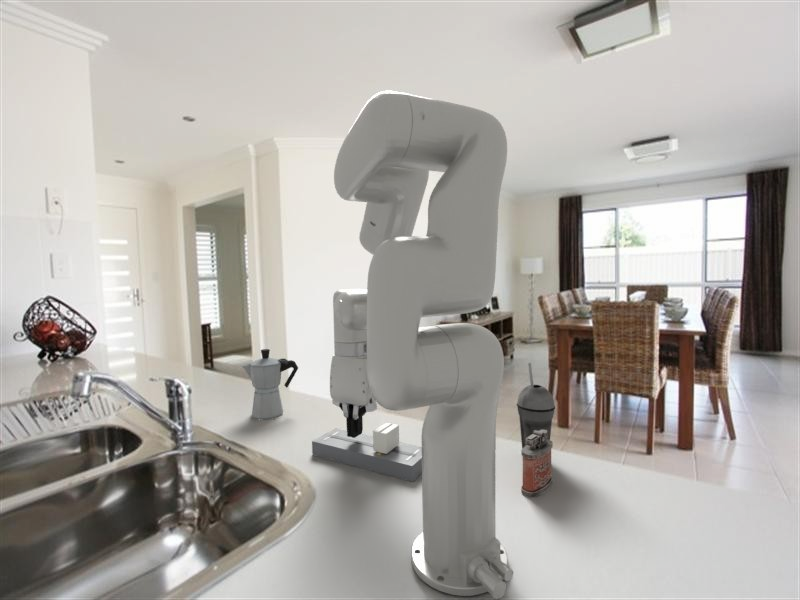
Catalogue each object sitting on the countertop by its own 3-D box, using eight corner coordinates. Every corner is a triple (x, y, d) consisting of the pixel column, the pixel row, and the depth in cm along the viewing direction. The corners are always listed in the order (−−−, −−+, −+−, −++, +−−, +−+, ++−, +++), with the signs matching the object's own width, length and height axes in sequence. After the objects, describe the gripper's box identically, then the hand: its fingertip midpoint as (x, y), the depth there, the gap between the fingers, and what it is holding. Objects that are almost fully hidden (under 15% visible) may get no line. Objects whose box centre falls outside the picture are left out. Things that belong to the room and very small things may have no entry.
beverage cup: (557, 472, 78) (558, 368, 76) (517, 469, 79) (518, 367, 78) (551, 455, 85) (552, 359, 83) (515, 452, 86) (515, 358, 85)
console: (431, 463, 82) (431, 448, 82) (412, 481, 75) (412, 465, 75) (336, 441, 94) (335, 427, 94) (312, 454, 87) (311, 440, 87)
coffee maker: (240, 422, 107) (237, 353, 106) (245, 411, 115) (242, 347, 114) (299, 416, 110) (297, 350, 109) (299, 406, 119) (297, 344, 118)
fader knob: (399, 444, 84) (398, 424, 83) (386, 453, 79) (386, 433, 79) (386, 441, 85) (386, 422, 85) (373, 450, 81) (373, 430, 80)
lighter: (538, 475, 76) (539, 423, 76) (556, 482, 74) (557, 428, 73) (516, 492, 71) (516, 436, 70) (535, 500, 68) (535, 441, 68)
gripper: (393, 348, 84) (394, 435, 86) (335, 343, 92) (337, 423, 93) (372, 355, 78) (374, 449, 79) (312, 348, 85) (315, 434, 87)
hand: (354, 434), depth 86 cm, fingers closed
